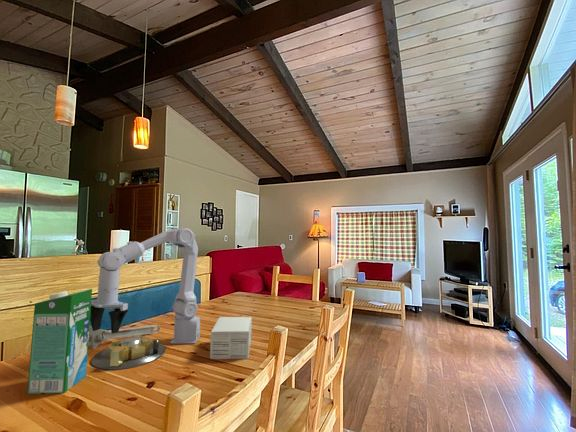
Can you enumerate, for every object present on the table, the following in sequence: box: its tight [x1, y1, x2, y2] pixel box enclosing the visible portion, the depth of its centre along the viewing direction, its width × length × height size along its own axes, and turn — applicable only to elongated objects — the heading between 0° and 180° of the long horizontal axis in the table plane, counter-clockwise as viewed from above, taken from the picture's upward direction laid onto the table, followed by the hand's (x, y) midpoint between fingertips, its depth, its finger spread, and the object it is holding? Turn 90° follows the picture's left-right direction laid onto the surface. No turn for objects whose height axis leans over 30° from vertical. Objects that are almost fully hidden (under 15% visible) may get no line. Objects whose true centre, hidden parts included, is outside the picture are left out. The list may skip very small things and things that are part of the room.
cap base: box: [90, 336, 166, 371], centre depth 96 cm, size 22×22×5 cm
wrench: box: [88, 324, 161, 350], centre depth 108 cm, size 8×2×30 cm
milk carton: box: [26, 288, 93, 395], centre depth 77 cm, size 9×9×25 cm
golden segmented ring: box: [107, 335, 154, 366], centre depth 94 cm, size 13×17×4 cm
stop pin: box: [153, 338, 160, 354], centre depth 96 cm, size 2×2×5 cm
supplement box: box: [209, 316, 253, 360], centre depth 102 cm, size 17×13×9 cm
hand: (105, 331), depth 91 cm, fingers open, 7 cm apart
